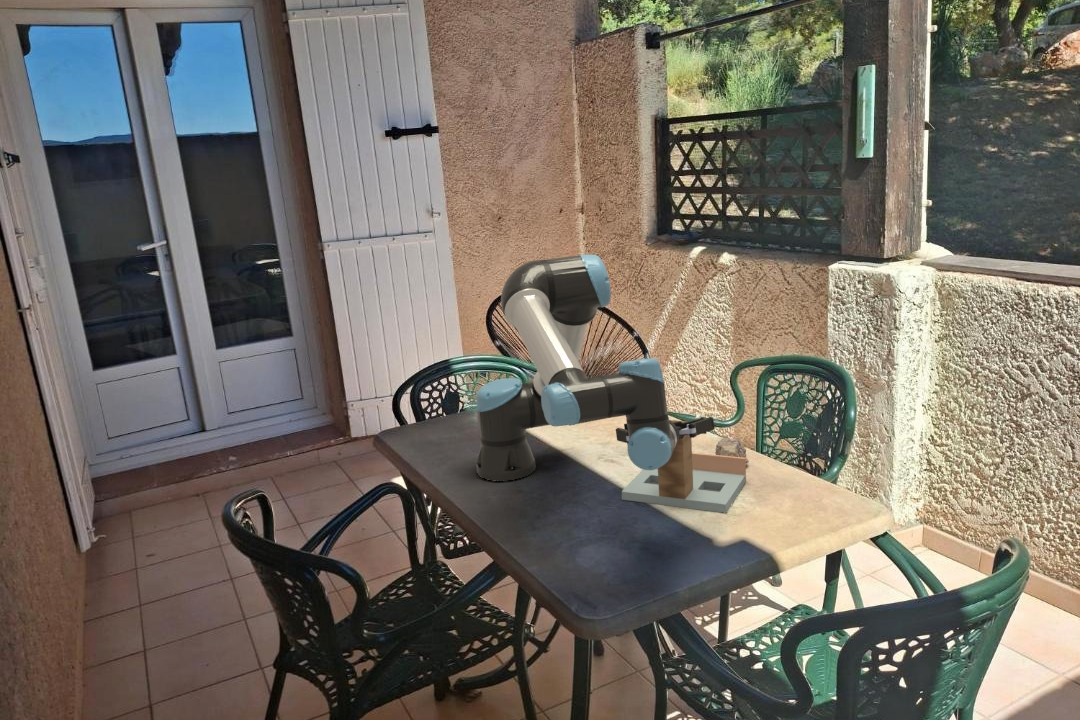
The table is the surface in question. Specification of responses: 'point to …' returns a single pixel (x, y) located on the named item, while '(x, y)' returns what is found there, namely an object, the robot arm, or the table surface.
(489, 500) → the table surface
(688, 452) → the walnut block
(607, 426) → the table surface
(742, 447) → the mineral specimen
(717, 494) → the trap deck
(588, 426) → the table surface
